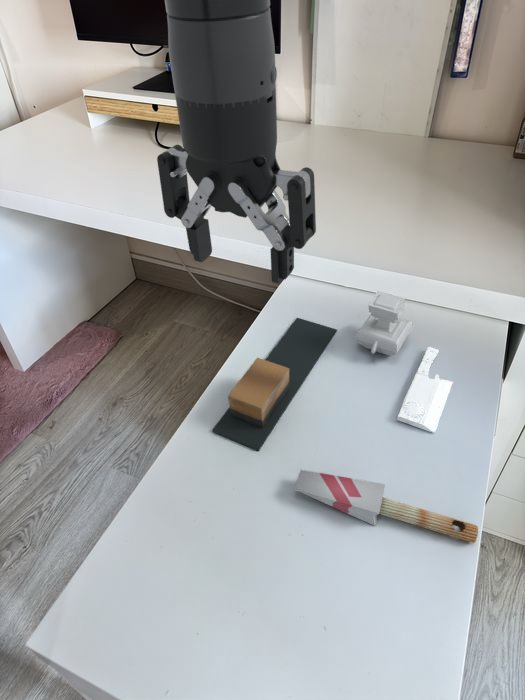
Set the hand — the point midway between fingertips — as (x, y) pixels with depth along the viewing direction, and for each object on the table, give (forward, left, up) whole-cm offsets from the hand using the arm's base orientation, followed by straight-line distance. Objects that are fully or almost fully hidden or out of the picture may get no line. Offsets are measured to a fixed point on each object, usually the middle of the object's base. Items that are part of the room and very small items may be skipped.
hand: (241, 268), depth 48 cm
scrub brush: (+5, +2, -26) cm, 26 cm away
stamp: (+24, -9, -26) cm, 37 cm away
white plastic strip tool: (+18, -18, -26) cm, 36 cm away
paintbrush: (-3, -18, -26) cm, 32 cm away
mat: (+11, +2, -26) cm, 28 cm away
